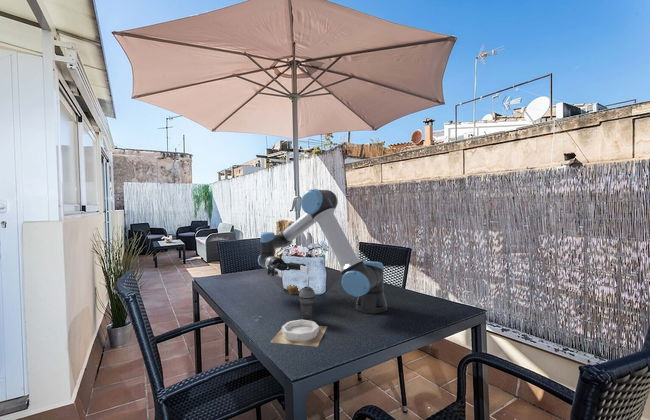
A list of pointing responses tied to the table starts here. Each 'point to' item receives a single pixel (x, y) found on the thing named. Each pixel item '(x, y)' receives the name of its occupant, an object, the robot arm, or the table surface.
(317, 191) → the robot arm
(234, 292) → the table surface
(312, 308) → the beverage cup
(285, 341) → the cork mat
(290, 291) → the bread roll
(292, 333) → the bowl
